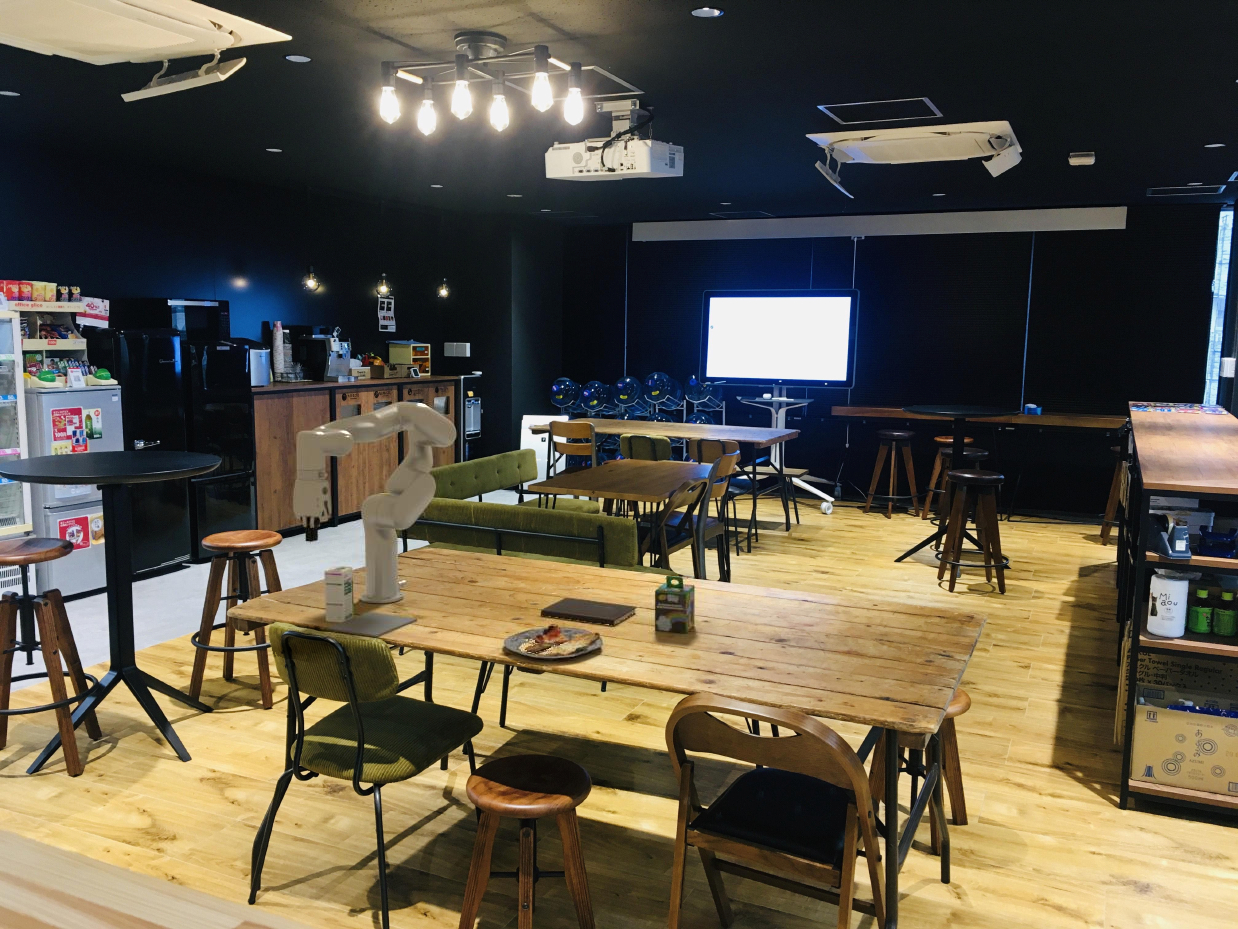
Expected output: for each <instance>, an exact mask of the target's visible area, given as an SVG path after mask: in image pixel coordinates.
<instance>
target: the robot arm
mask: <svg viewBox="0 0 1238 929" xmlns="http://www.w3.org/2000/svg"><path fill="white" fill-rule="evenodd" d="M402 431H407V437H408V453H407V455H406V456H405V458H404V459H403V460H402V462H401V463H400V464H399V465H398V466H397V467H396V469H395V470H394V471H393V473H391V475H390V476H389V478H388V479H387V481H386V484H385V491H386V492H387V494H380V493H377V494H372V495H369V496H368V497H367V498H365V499H364V500H363V502H362V506H361V508H360V509H361V510H360V511H361V512H360V513H361V519H362V524H363V530H364V545H365V546H364V548H365V549H364V552H365V553H364V554H365V556H364V558H365V560H364V562H365V565H364V566H365V567H364V568H365V592H362V594H360V601H362V602H364V603H371V604H388V603H395V602H398V601H401V600H403V598H404V593H403V592H402V591H401V588H404V587H406V586H407V581H406V580H399V550H398V548H399V542H398V541H399V540H398V535H397V532H396V530H398V531H399V530H400V531H403V530H406V529H409V528H410V527H411V526H412V525H414V523H415V522H416V521H417V520H418V518H419V517H420V515H422V513H423V512H424V510H425V509H426V508H428V505H429V504H430V503H431V502H432V500H433V498H434V496H435V493H436V489H437V488H436V487H437V484H436V480H435V478H434V476H433V475H432V474H431V473H430V471H431V470H432V469H433V464H434V458H433V449H432V447H437V448H446V447H447V448H448V447H450V446H451V445H452V444H453V443H454V442H455V440H456V438H457V430H456V426H455V425H454V423H453V422H452V421H451V420H450V419H448V417H447V418H446V417H445V416H444V415H442V414H441V413H439V412H437V411H436V410H435V409H433V408H431V407H429V406H428V405H426V404H424V403H420V402H409V401H399V402H394V403H391V404H389V405H386V406H383V407H381V408H378V409H375V410H373V411H370V412H368V413H364V414H360V415H354V416H351V417H346V418H341V419H337V420H333V421H331V422H330V421H329V422H328V423H326V424H322V425H320V426H317V427H316V428H314V429H313V430H301V431H298V433H297V434H296V479H295V482H294V487H293V488H294V489H293V498H292V502H293V503H292V508H293V509H292V510H293V513H294V518H295V519H297V520H299V521H301V522H302V525H303V527H304V529H305V530H304V532H305V533H304V534H305V542H310V543H312V542H316V541H318V540H319V527H320V526H321V524H322V523H323V522H327V521H328V520H329V516H330V515H331V514H332V499H331V498H332V496H331V491H330V490H331V489H330V485H329V481H328V480H326V478H327V477H328V472H326V456H333V457H344V456H346V455H349V454H350V453H352V451H353V449H354V448H355V443H359V444H361V443H372V442H377V441H380V440H383V439H385V438H387V437H390V436H392V435H395V434H398V433H399V432H402Z"/></svg>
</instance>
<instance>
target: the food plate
mask: <svg viewBox="0 0 1238 929" xmlns="http://www.w3.org/2000/svg"><path fill="white" fill-rule="evenodd" d="M600 636H601V634H600V632H591V631H588V630H586V629H583V628H575V627H565V626H559V625H558V624H556V625H548V626H547V627H541V628H531V629H527V630H526V631H525V630H524V631H520V632H517V633H515V634H512V635H508V637H506V638H504V640H503V645H504V646H505V648H506V649H508V650H510V651H512V652H513V653H514V652H515V653H517V654H521V655H522V656H528V657H532V658H537V659H538V658H539V659H544V660H545V659H546V660H548V659H549V661H553V660H554V659H558V658H570V657H575V656H579V655H582V654H586V653H589V652H590V651H593V650H595V649H599V648H600V647H602V646H603V644H604V642H603V639H602V637H600ZM526 639H528V641H526ZM530 639H532V640H535V643H537V644H535V645H534V644H533V646H532V645H527V646H528V647H527V646H526V647H525V648H524V651H523V650H522V649H519V647H520V646H521V645H522V644H524V643H525V644H526V643H527V642H528V643H529V641H532V640H530ZM560 644H562V645H560ZM554 645H555V646H554ZM551 647H554V648H553V649H551V650H548V651H544V650H546V649H549V648H551ZM521 650H522V651H521ZM525 650H527V652H531V653H536V652H539V651H543V652H540V653H536V654H537V655H536V654H528V653H526V651H525Z"/></svg>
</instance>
